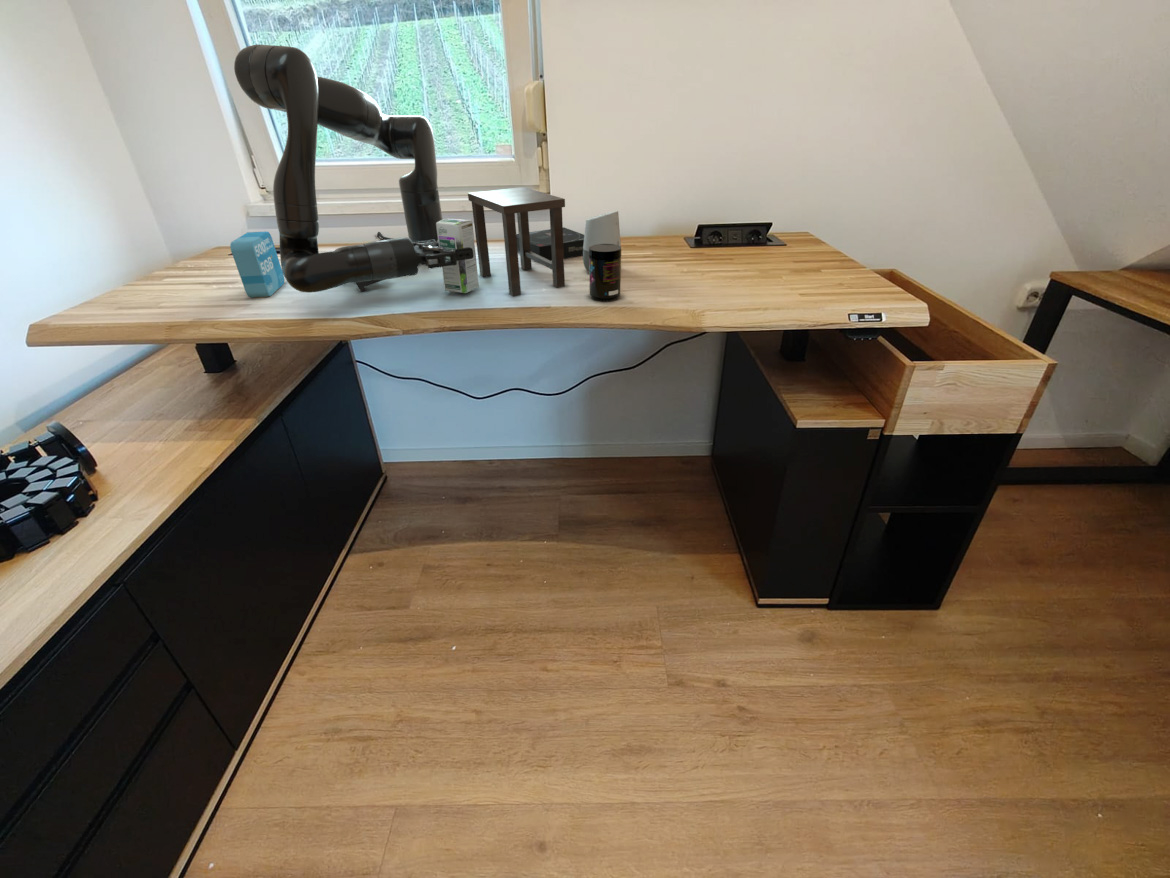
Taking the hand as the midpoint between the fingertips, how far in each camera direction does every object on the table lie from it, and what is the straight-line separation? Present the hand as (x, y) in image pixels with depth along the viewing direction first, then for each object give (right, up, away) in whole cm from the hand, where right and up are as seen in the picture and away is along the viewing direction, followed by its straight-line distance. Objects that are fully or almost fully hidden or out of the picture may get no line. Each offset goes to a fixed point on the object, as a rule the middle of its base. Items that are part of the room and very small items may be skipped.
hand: (465, 248), depth 120 cm
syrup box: (-1, -8, +4) cm, 9 cm away
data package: (-47, -7, +7) cm, 48 cm away
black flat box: (+17, +10, +33) cm, 39 cm away
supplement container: (+30, -11, -1) cm, 32 cm away
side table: (+11, -4, +10) cm, 16 cm away
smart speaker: (+30, 0, +16) cm, 34 cm away
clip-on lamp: (-28, -5, +10) cm, 30 cm away
